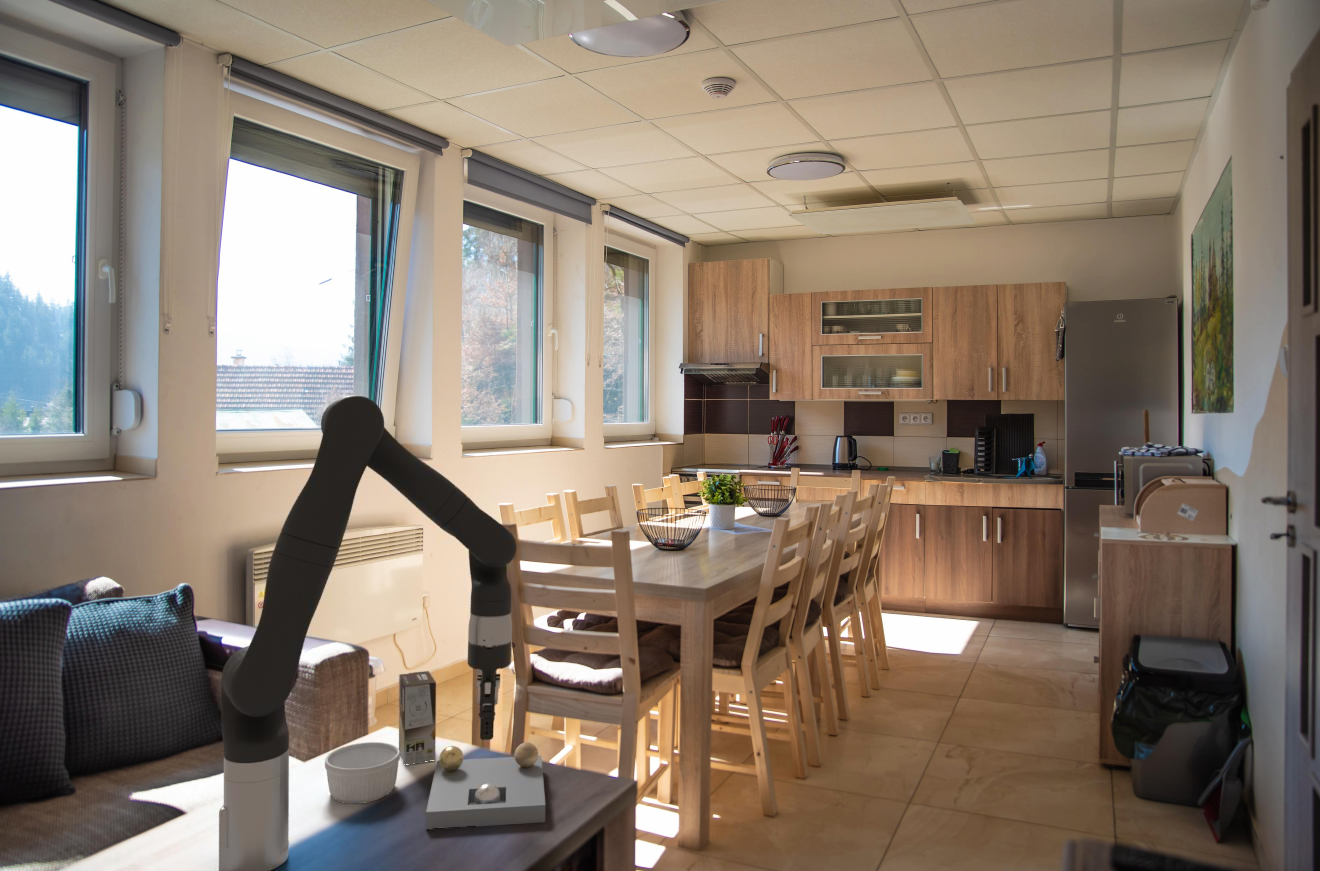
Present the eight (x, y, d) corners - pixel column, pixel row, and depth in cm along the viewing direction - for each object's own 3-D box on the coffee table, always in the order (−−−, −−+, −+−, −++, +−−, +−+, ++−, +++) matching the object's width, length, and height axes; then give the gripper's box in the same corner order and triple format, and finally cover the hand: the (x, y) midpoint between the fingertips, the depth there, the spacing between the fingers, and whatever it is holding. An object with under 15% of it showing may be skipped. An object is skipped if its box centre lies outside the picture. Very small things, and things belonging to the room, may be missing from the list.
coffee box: (436, 761, 175) (437, 682, 175) (403, 766, 173) (404, 686, 172) (428, 745, 184) (429, 670, 183) (397, 749, 181) (397, 673, 181)
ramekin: (308, 798, 158) (308, 760, 158) (362, 771, 170) (362, 736, 170) (362, 813, 152) (363, 774, 152) (414, 785, 164) (415, 749, 164)
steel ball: (473, 816, 150) (473, 790, 150) (474, 804, 155) (475, 779, 155) (499, 814, 151) (500, 789, 151) (500, 803, 156) (500, 778, 155)
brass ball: (437, 775, 161) (438, 751, 161) (440, 766, 165) (440, 742, 165) (462, 774, 162) (463, 750, 162) (464, 764, 166) (464, 741, 166)
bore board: (425, 829, 146) (426, 812, 146) (437, 776, 168) (437, 760, 168) (545, 822, 150) (545, 804, 150) (541, 770, 171) (541, 755, 171)
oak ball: (514, 771, 163) (514, 748, 163) (514, 762, 168) (514, 739, 168) (538, 770, 164) (538, 746, 164) (537, 761, 169) (538, 738, 168)
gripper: (470, 629, 159) (467, 717, 159) (465, 649, 145) (463, 745, 145) (511, 628, 160) (509, 716, 160) (511, 648, 146) (508, 744, 146)
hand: (487, 730), depth 152 cm, fingers open, 8 cm apart
